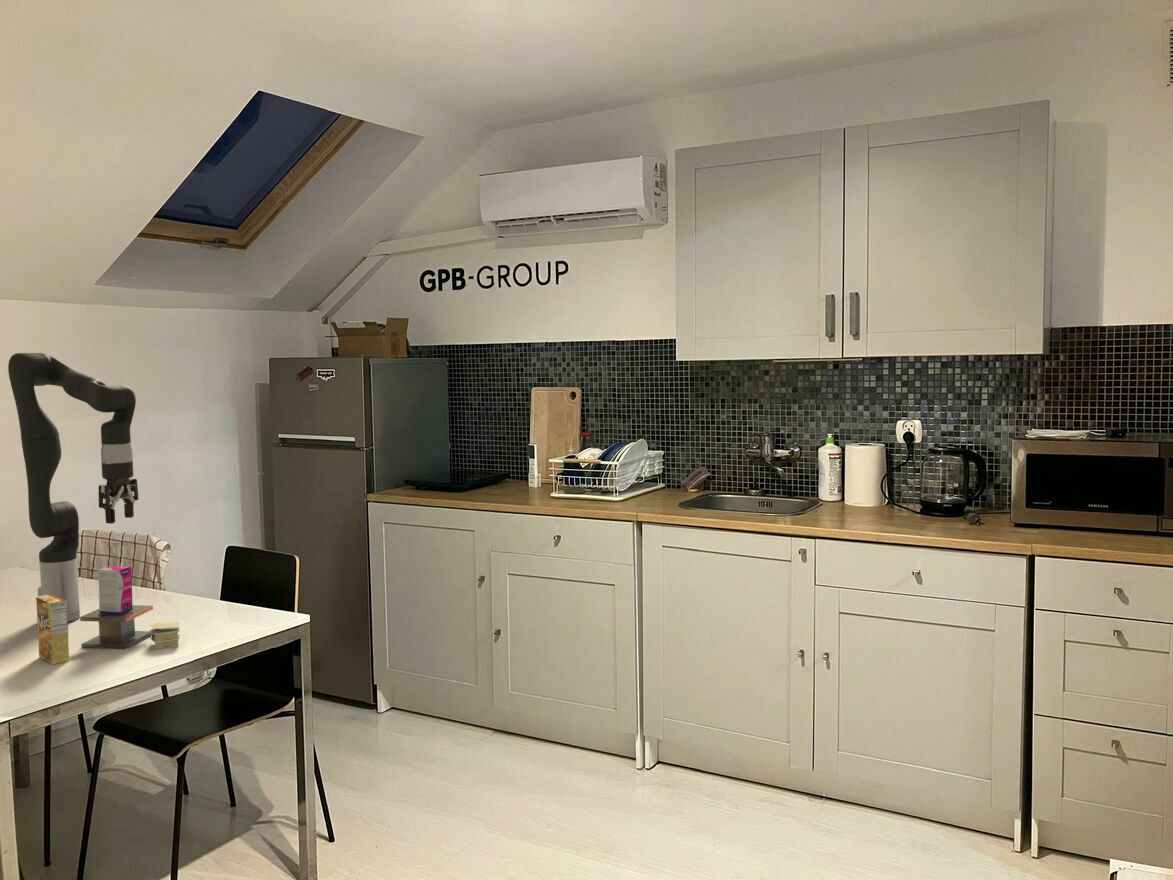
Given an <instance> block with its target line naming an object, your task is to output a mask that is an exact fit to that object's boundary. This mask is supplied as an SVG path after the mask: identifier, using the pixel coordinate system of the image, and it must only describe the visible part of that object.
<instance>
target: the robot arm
mask: <svg viewBox="0 0 1173 880" xmlns="http://www.w3.org/2000/svg"><path fill="white" fill-rule="evenodd" d="M7 371H8V377H9V378H8V379H9V382H10V386H11V390H12V394H13V398H14V402H15V405H16V406H15V407H16V411H17V417H18V423H19V429H20V440H21V447H22V453H23V454H22V455H23V459H24V464H25V465H24V466H25V473H26V481H27V482H26V483H27V495H28V496H27V499H28V500H27V501H28V502H27V503H28V518H29V524H30V528H31V531H32V532H33V534H34V535H35V536H36V537H38V538H40V539H46V538H52V537H53V539H52V540H51V542H50V543H49V544H48V545H46V546H45V547H44V548H42V549H41V550H39V553H38V559H39V575H40V580H39V581H40V587H38V588H37V597H39V596H45V595H52V594H53V595H55V596H57V597H60V598H62V599H65V600H67V618H68V623H69V622H73V621H76V620H78V619H80V617H81V613H80V611H81V610H80V595H79V593H80V591H79V575H78V558H77V557H78V556H77V554H78V550H79V545H80V544H79V543H80V539H79V537H80V536H79V535H80V521H79V520H80V519H79V513H78V510H77V507H75V505H74V504H73V503H72V502H70V501H65V500H63V501H58V502H51V493H50V491H51V485H52V484H51V483H52V480H53V478H54V475H55V474H56V471H57V469H58V466H59V464H60V461H61V458H62V445H61V440H60V433H59V430H58V428H57V426H56V425H55V423H54V422H53V421H52V420H51V419H50V417H49V416H48V415H47V413H45V411H44V409H42V407H41V405H40V404H39V401H38V398H37V395H36V390H35V387H44V386H57V387H61V388H62V389H63V390H64V392H65V393H66V394H67V395H68V396H70V397H72V398H73V399H76V400H78V401H80V402H84V403H85V404H87V405H88V406H89V407H91V408H92V409H93V410H95V411H97V412H101V413H107V414H109V413H113V416H112V418H111V419H110V420H107V421H105V422H103V423H102V424H101V426H100V437H101V438H100V440H101V441H100V442H101V448H100V458H101V459H100V461H101V476H102V479H104V480H106V484H101V485H100V484H99V485H98V509H99V508H100V509H103V510H104V511H105V514H104V515H105V516H104V517H105V523H106V524H115V523H116V511H115V506H116V504H117V503H118V502H120V501H119V500H120V499H121V500H122V501H123V503H124V504H123V508H124V509H123V510H124V512H123V513H124V517H125V518H129V519H132V518H134V517H135V514H134V513H135V511H134V504H135V502H136V501H138V500H139V489H138V486H139V485H138V479H137V478H133V477H134V461H133V459H134V458H133V449H132V440H131V426H132V421H133V417H134V412H135V409H136V405H137V404H136V402H137V400H136V394H135V392H134V390H133V389H132V388H131V387H130V386H128V385H106V384H105V382H104V381H102V379H100V378H96V377H93V376H91V375H88V374H85V373H83V372H80V371H78V370H75V369H73V368H72V367H70V366H68V365H67V364H65V363H63V362H62V361H60V360H59V359H57V357H56V358H55V357H54V356H52V355H50V354H48V353H44V352H17V353H13V355H11V356H10V358H9V360H8V365H7Z"/></svg>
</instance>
